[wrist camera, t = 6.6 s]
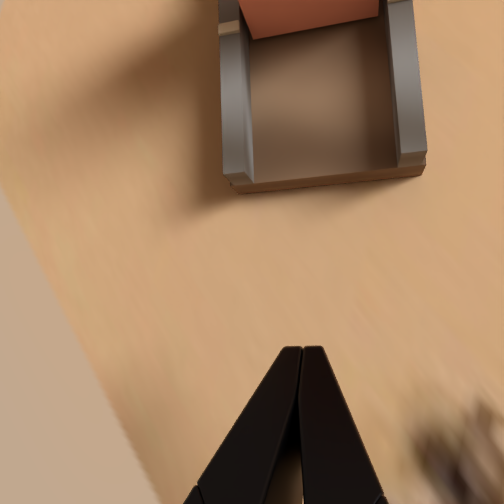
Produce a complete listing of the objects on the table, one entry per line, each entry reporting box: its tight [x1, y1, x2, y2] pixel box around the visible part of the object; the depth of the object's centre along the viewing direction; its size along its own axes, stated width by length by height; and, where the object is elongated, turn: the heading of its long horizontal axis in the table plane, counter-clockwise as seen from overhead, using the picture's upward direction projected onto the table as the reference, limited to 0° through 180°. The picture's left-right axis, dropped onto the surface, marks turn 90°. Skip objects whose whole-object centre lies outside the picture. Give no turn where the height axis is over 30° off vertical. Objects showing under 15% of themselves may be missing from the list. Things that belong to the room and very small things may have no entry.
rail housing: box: [218, 0, 427, 194], centre depth 21 cm, size 14×9×4 cm, turn 2°
